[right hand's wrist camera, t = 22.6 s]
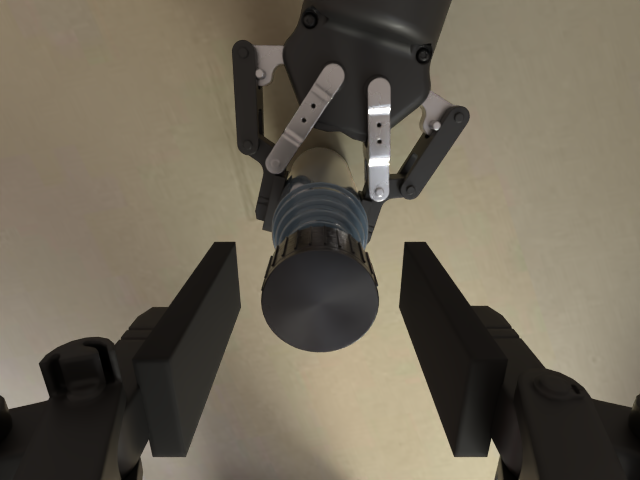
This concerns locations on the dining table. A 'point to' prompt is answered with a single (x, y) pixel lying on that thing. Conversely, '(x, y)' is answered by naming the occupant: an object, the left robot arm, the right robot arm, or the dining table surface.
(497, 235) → the dining table surface
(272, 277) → the cap
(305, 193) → the bottle
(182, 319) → the right robot arm
